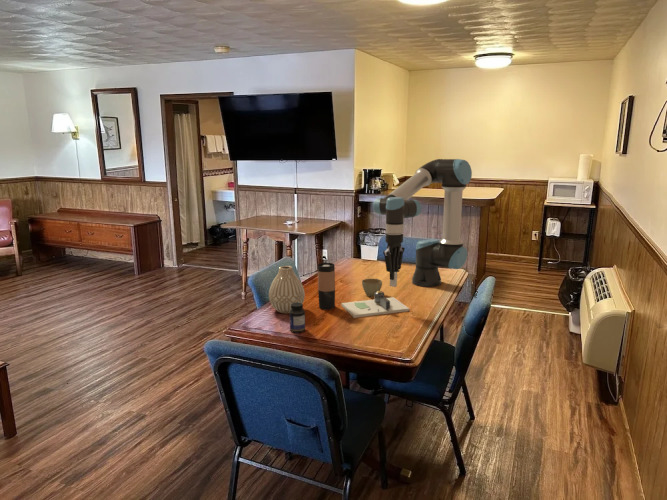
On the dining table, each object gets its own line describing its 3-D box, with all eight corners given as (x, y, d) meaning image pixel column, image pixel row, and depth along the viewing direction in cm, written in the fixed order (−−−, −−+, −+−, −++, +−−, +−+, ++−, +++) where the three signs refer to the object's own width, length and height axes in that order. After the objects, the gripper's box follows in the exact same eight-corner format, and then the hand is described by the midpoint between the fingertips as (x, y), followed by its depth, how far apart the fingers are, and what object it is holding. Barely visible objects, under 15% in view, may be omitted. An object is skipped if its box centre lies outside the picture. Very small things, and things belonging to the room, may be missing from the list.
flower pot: (381, 298, 231) (381, 284, 230) (360, 297, 233) (360, 283, 232) (383, 292, 241) (383, 278, 239) (363, 291, 243) (363, 277, 241)
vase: (277, 318, 206) (275, 273, 202) (264, 308, 220) (262, 265, 216) (310, 312, 214) (309, 268, 209) (296, 302, 227) (295, 261, 223)
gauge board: (393, 299, 230) (393, 296, 229) (409, 311, 214) (409, 307, 213) (341, 305, 222) (341, 302, 222) (353, 317, 206) (353, 314, 206)
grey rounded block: (372, 301, 222) (373, 290, 221) (381, 300, 223) (381, 289, 222) (383, 309, 210) (383, 298, 209) (392, 308, 212) (392, 297, 210)
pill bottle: (290, 327, 196) (289, 302, 194) (305, 327, 197) (304, 301, 194) (290, 333, 190) (289, 307, 188) (305, 332, 190) (304, 306, 188)
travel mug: (337, 305, 222) (337, 263, 218) (332, 310, 215) (331, 267, 211) (322, 303, 225) (321, 262, 221) (316, 309, 218) (315, 266, 214)
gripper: (396, 230, 215) (395, 281, 220) (378, 234, 206) (377, 287, 211) (410, 232, 210) (408, 284, 215) (392, 236, 201) (391, 291, 206)
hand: (393, 286), depth 213 cm, fingers closed
